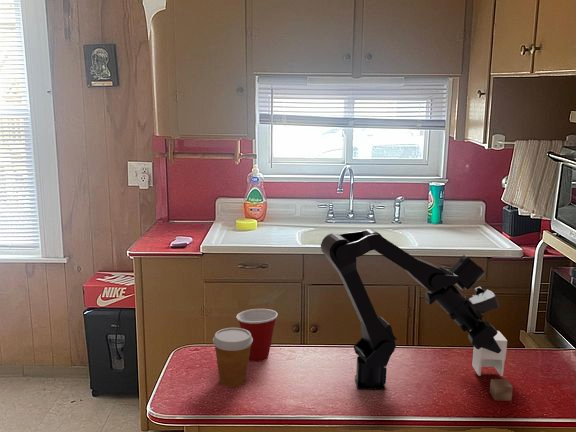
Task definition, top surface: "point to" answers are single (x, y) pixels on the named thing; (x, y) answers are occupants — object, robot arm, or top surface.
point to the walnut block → (501, 389)
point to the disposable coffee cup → (232, 355)
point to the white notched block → (490, 356)
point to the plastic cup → (258, 330)
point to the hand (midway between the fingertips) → (495, 346)
